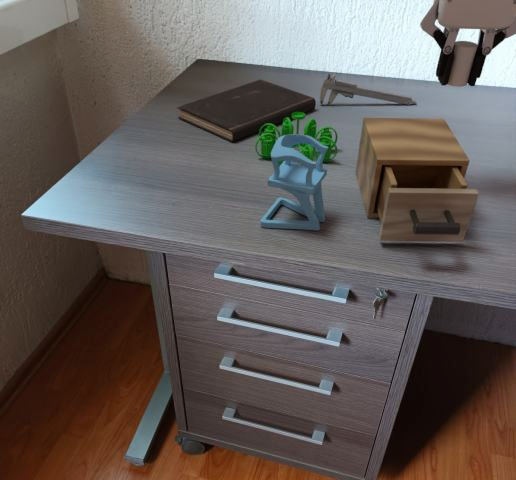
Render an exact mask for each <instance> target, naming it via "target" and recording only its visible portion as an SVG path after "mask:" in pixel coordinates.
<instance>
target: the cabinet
mask: <svg viewBox="0 0 516 480" xmlns="http://www.w3.org/2000/svg"><path fill="white" fill-rule="evenodd" d="M470 161H471V160H470V158H469V157H468V155H467V154H466V152H465V150H464V148H463V147H462V146H461V144H460V143H459V141H458V139H457V137H456V136H455V134H454V132H453V130H452V129H451V128H450V126H449V124H448V123H447V121H446V120H445V118H432V117H431V118H429V117H428V118H425V117H423V118H422V117H421V118H420V117H419V118H417V117H413V118H412V117H363V119H362V125H361V132H360V139H359V145H358V152H357V159H356V165H355V166H356V167H355V176H356V180H357V184H358V187H359V191H360V194H361V199H362V203H363V206H364V210H365V215H366V217H367V219H380V218H379V215H378V211H377V208H376V204H375V202H376V196H377V191H378V185H379V180H380V174H381V168H382V165H435V166H457V168H458V169H459V171H460V173H461V175H462V176H463V178H464V179H465V177H466V174H467V171H468V167H469V164H470Z"/></svg>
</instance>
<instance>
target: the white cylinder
mask: <svg viewBox="0 0 516 480" xmlns="http://www.w3.org/2000/svg"><path fill="white" fill-rule="evenodd" d="M477 44H478V43H476V42H473V41H470V40H469V41H468V40H457V41H455V44H454V46H453V54H454V61H453V65H452V69H451V73H450V77H449V81H448V84H447V85H446V86H451V87H457V88H459V87H460V88H461V87H466V86H467V85H468V79H469V76H470V72H471V68H472V65H473V61H474V58H475V54H476V50H477V47H478V45H477Z"/></svg>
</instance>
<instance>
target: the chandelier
mask: <svg viewBox="0 0 516 480" xmlns="http://www.w3.org/2000/svg"><path fill="white" fill-rule="evenodd" d="M305 118H306V113H303V112H294V113H292V118H291V119H293V120H296V133H295V134H299V132H300V131H299V130H300V121H302V120H305ZM291 119H289V118H284V120H283V122H282V125H281V131H280V129H279V128H278V127H277V125H273V124H270V123H267V124H264V125H263V126H262V127H261V128H260V130H259V131H258V138H257V139H256V141H255V144H254V149H255V153H256V154H257V155H258V156H259V157H260V158H262V159H270V158H271V151H272V149H273V147H274V145H275V143H276V141H277V140H278V138H280V137H281V136H284V135H292V134H294V123H293V122H292V121H291ZM266 125H268V126H267V128H265V129H264V130H262V128H263V127H264V126H266ZM330 130H332V131H333V132H334V135H335V138H334V139H333V135H332V131H330ZM262 131H263V134H262ZM277 135H278V137H277ZM303 135H307V136H310V137H312V138H314V139H315V140H317V141H318V142H320V143H321V144H323V145H325V146H327V147H328V149H327V151H326V153H325V155H324V158H323V163H329V162H332V161H333V160H334V159H335V158H336V156H337V154H338V147H337V143H338V132H337V130H336V129H334V128H333V127H332V126H323V127H321V128H319V130H317V121H316V119H314V118H310V119H308V121H307V123H305V126H304V127H303ZM318 136H319V137H318ZM259 141H260V153H259V152H258V144H259ZM293 147H294V148H299V149H300V153H301V154H303V155H304V156H305V157H307V158H308V159H310V160H311V161H313V162H314V156H315V157H316V159H318V158H319V155H320V152H319V151H318V150H317V149H315V148H314V147H313V146H311V145H309V144H304V143H301V144H296V145H293V146H291V147H290V148H292V149H293ZM333 148H334V154H333V156H331V155H332V149H333ZM317 151H318V153H317ZM331 157H332V158H331ZM284 161H285V160H283V161H279V162H277V163H278V165H279V167H280V165H281V164H282V163H283V162H284ZM301 165H302V164H301Z"/></svg>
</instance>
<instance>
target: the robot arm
mask: <svg viewBox="0 0 516 480" xmlns="http://www.w3.org/2000/svg"><path fill="white" fill-rule="evenodd" d="M436 22H438V24H439V25H440V26H441V27H443V30H441V28H440V27H438V26H437V25H436ZM419 28H421V30H422V31H423V32H424V33H426V34H427V35H428V36H430V37H431V38H432V39H434V41H435V42H436V44H437V45H438V47H439V48H440V52H439V57H438V62H437V66H436V70H435V76H436V78H437V80H438V82H439V83H440V85H441V86H448V85H447V84H448V81H449V77H450V73H451V69H452V65H453V61H454V54H453V46H454V44H455V42H456V40H457V38H458V35H459V33H460V29H462V30H479V32H478V38H477V43H476V44H477V45H478V47H477V50H476V54H475V58H474V61H473V65H472V68H471V72H470V76H469V79H468V83H467V85H468V86H469V87H475V86H476V84H477V80H478V79H480V78H481V75H482V73H483V69H484V66H485V62H486V59H487V56H489V55H490V54H491V53H492V51H493V50H494V49H495V48H496V47H497V46H498V45H500V44H502V42H504V41H505V39H509V38H510V37H513V36H514V35H516V0H433V3H432V5H431V6H430V8H429V10H428V11H427V12H426V14H425V15H424V17H423V18H422V20H421V21H420V23H419Z"/></svg>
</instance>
